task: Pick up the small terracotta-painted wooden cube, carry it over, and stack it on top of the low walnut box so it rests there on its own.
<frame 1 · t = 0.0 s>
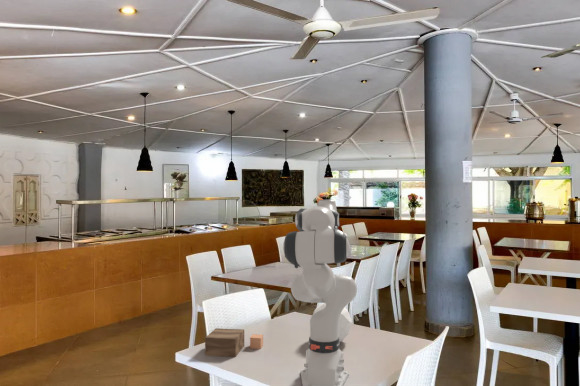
hand: (328, 265, 192), 39 cm above the table, tool pointing down, fingers open, 8 cm apart
walnut box: (225, 351, 196), on the table
polyhedron: (331, 342, 207), on the table
cube: (256, 346, 201), on the table
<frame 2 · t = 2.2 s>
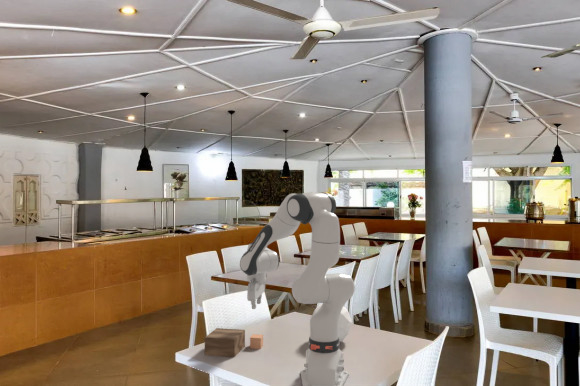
hand: (256, 306, 201), 19 cm above the table, tool pointing down, fingers open, 8 cm apart
nothing on the table moved.
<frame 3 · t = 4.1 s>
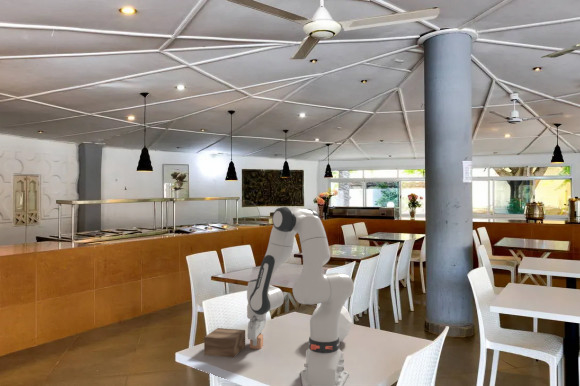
hand: (256, 343, 201), 2 cm above the table, tool pointing down, fingers closed on cube, 5 cm apart
cube: (256, 346, 201), on the table, touching gripper
everything else where it was.
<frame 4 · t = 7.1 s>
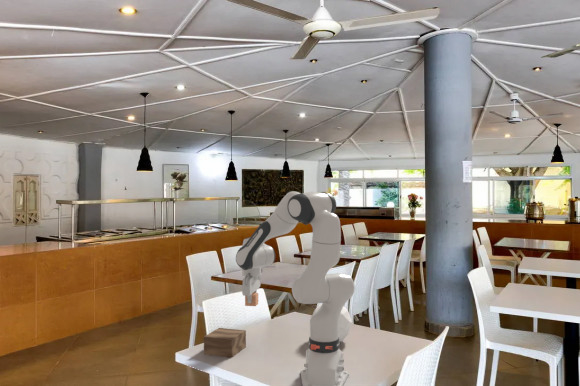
hand: (251, 301, 201), 21 cm above the table, tool pointing down, fingers closed on cube, 5 cm apart
cube: (251, 304, 201), point 20 cm above the table, touching gripper
everything else where it was.
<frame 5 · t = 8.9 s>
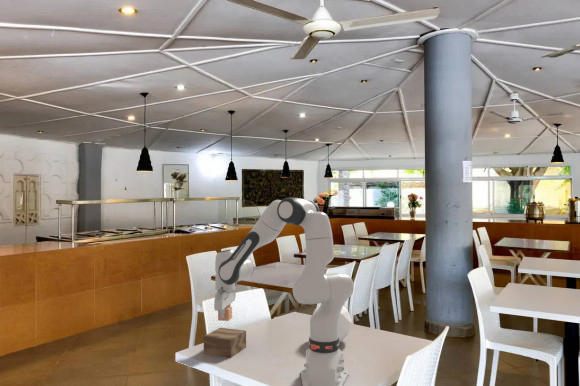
hand: (225, 315, 196), 16 cm above the table, tool pointing down, fingers closed on cube, 5 cm apart
cube: (225, 319, 196), point 14 cm above the table, touching gripper
when the fingers open (12 cm above the table, at t = 10.1 s): cube drops 2 cm, point 8 cm above the table.
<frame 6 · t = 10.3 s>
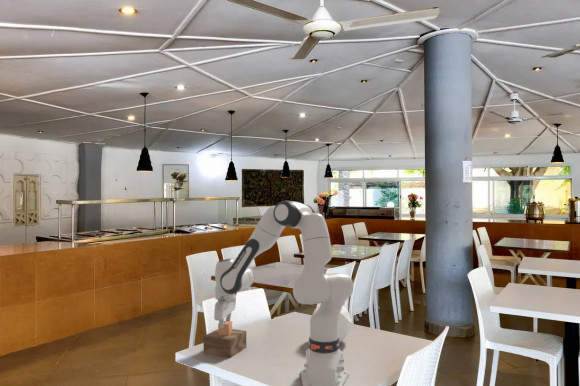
hand: (225, 325, 196), 12 cm above the table, tool pointing down, fingers open, 7 cm apart
cube: (225, 333, 196), point 8 cm above the table
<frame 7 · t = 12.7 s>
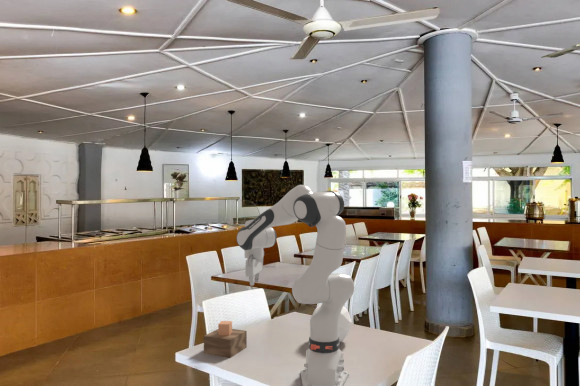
hand: (254, 283, 200), 30 cm above the table, tool pointing down, fingers open, 8 cm apart
walnut box: (225, 350, 196), on the table, touching cube
cube: (225, 333, 196), point 8 cm above the table, touching walnut box
everything else where it was.
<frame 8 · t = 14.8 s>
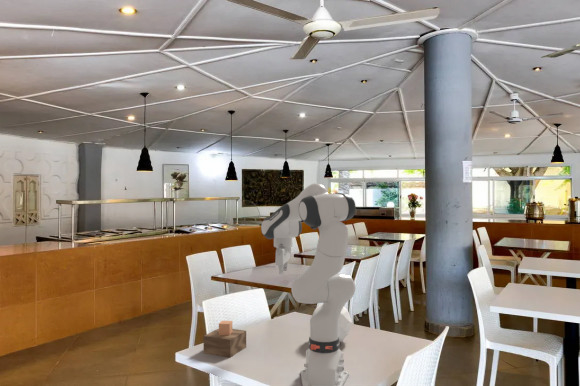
hand: (283, 272, 204), 34 cm above the table, tool pointing down, fingers open, 8 cm apart
walnut box: (225, 350, 196), on the table
cube: (225, 333, 197), point 8 cm above the table
everything else where it was.
at the end: cube inside the target area on the walnut box (0.2 cm from its centre), point 8.0 cm above the walnut box's base; cube tilted 0°; the gripper is holding nothing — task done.
